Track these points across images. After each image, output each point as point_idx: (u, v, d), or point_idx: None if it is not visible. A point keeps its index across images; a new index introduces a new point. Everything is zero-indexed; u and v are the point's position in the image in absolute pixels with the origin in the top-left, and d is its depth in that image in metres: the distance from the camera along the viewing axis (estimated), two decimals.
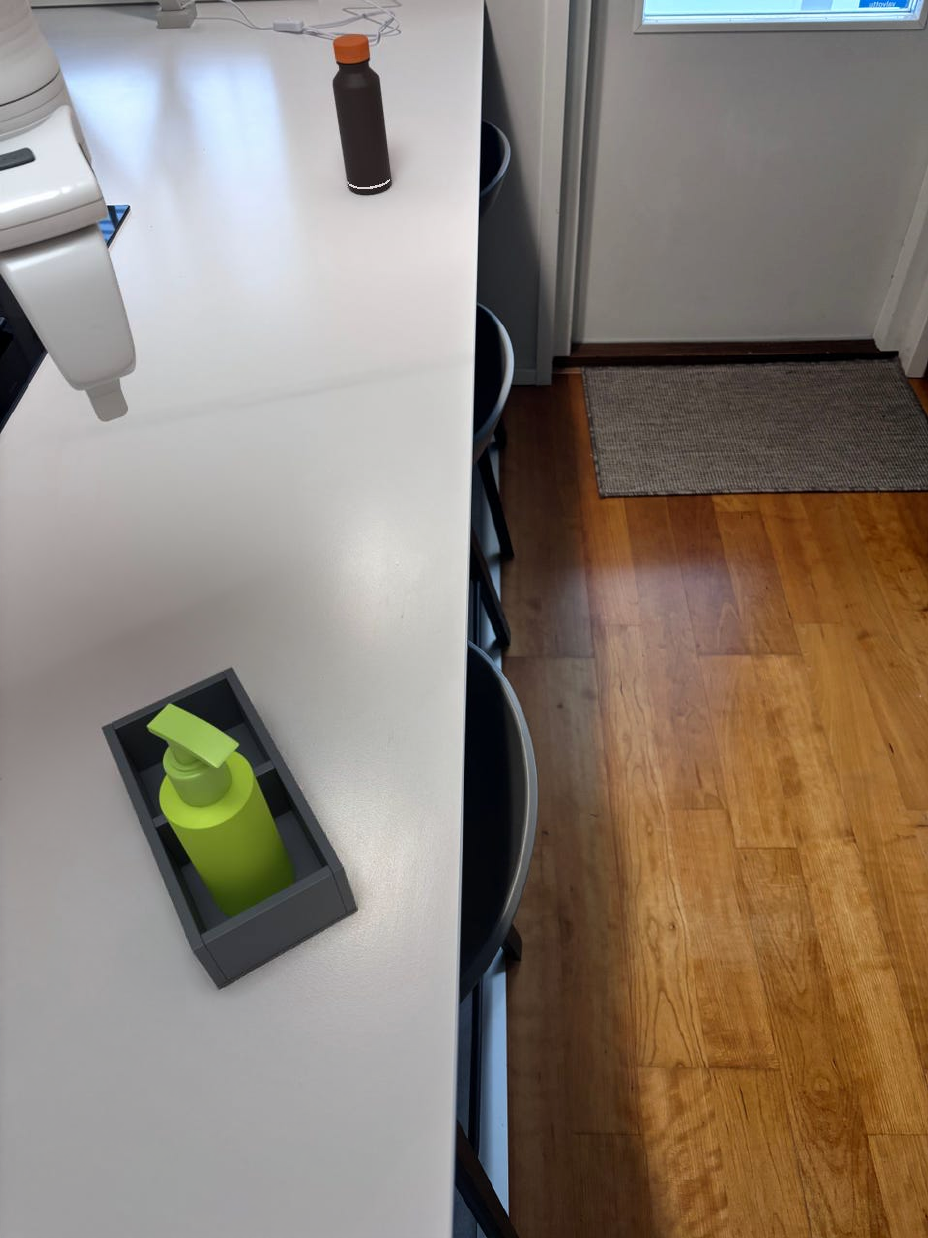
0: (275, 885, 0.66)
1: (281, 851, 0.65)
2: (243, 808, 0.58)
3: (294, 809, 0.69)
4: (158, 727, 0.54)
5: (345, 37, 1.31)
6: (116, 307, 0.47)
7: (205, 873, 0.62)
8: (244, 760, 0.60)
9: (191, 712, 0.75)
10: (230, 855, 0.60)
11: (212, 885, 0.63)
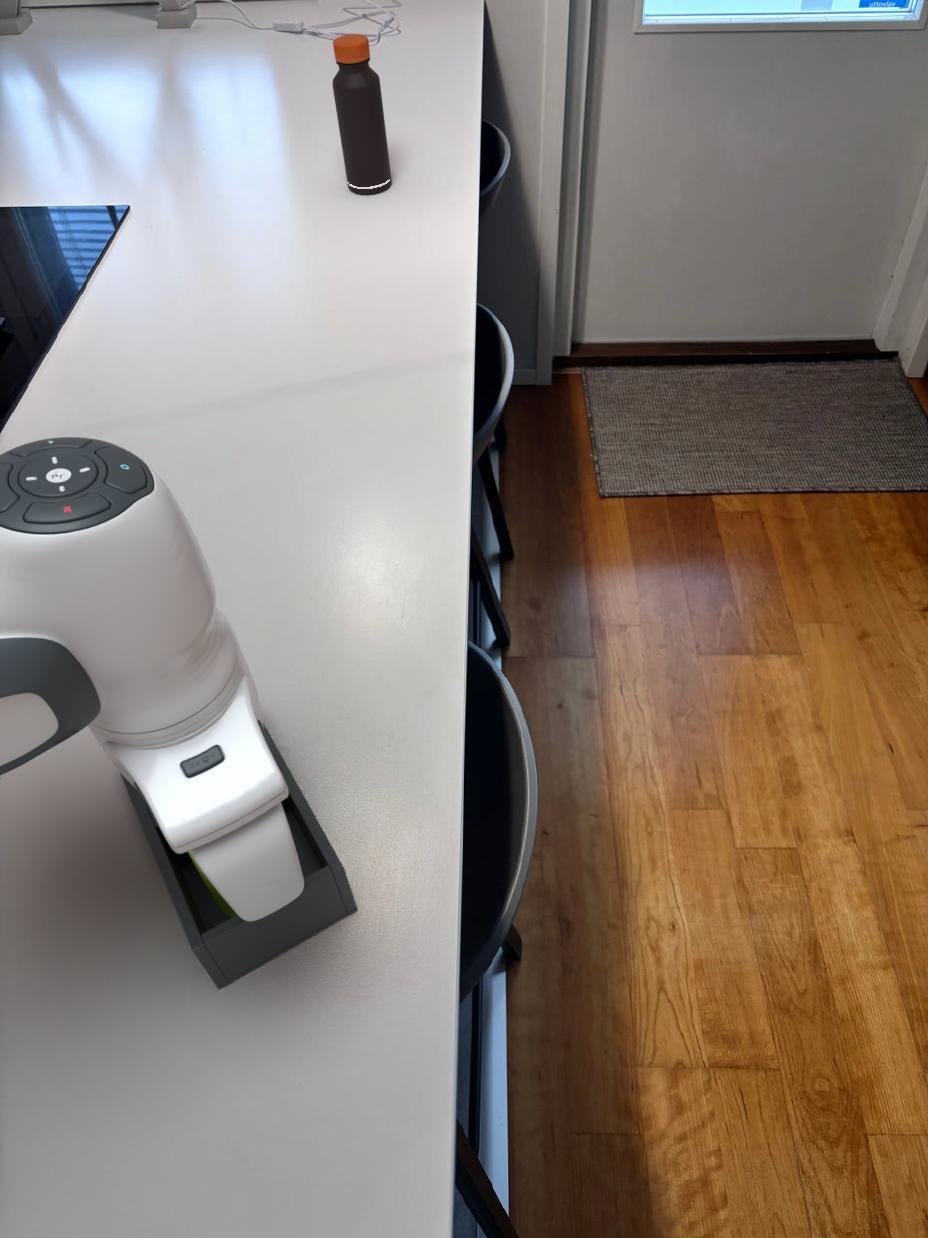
0: None
1: None
2: None
3: (294, 809, 0.69)
4: None
5: (345, 37, 1.31)
6: (292, 863, 0.51)
7: None
8: None
9: None
10: None
11: None
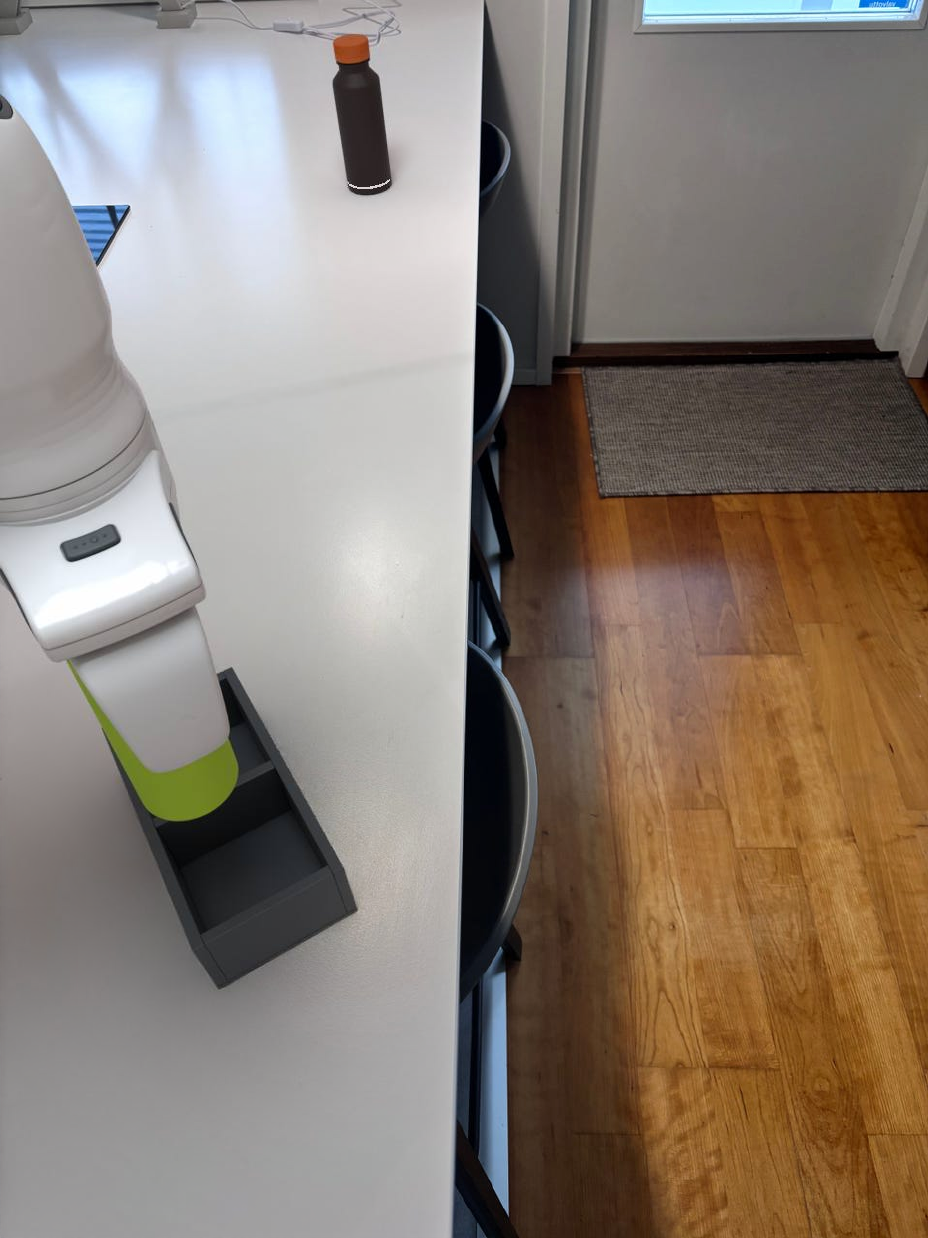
0: (212, 775, 0.54)
1: None
2: None
3: (294, 809, 0.69)
4: None
5: (345, 37, 1.31)
6: (211, 694, 0.39)
7: (122, 749, 0.50)
8: None
9: None
10: None
11: (132, 768, 0.51)
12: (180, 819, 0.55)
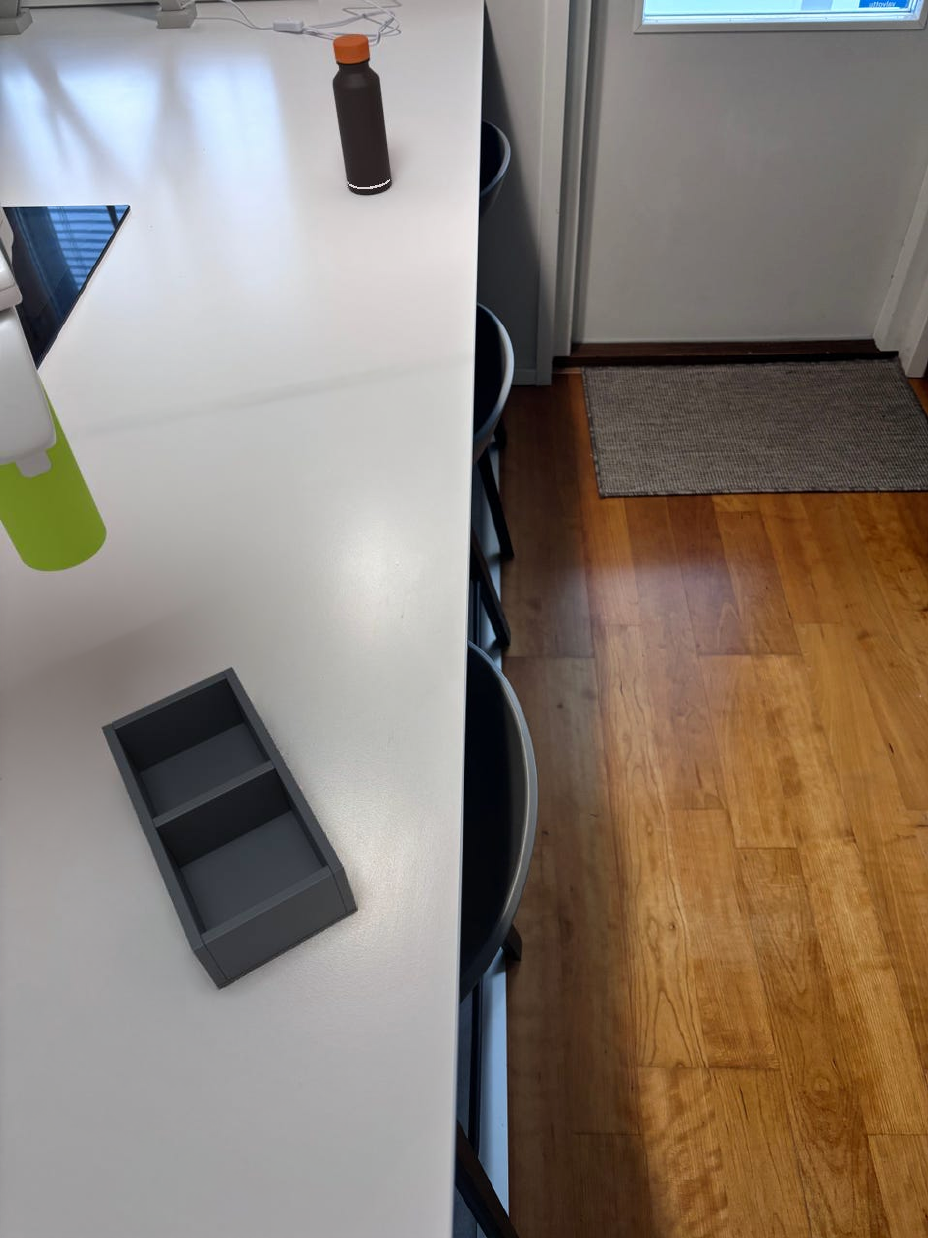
0: (76, 526, 0.63)
1: (83, 490, 0.63)
2: None
3: (294, 809, 0.69)
4: None
5: (345, 37, 1.31)
6: (32, 387, 0.48)
7: None
8: None
9: (191, 712, 0.75)
10: None
11: (3, 512, 0.61)
12: (52, 569, 0.64)
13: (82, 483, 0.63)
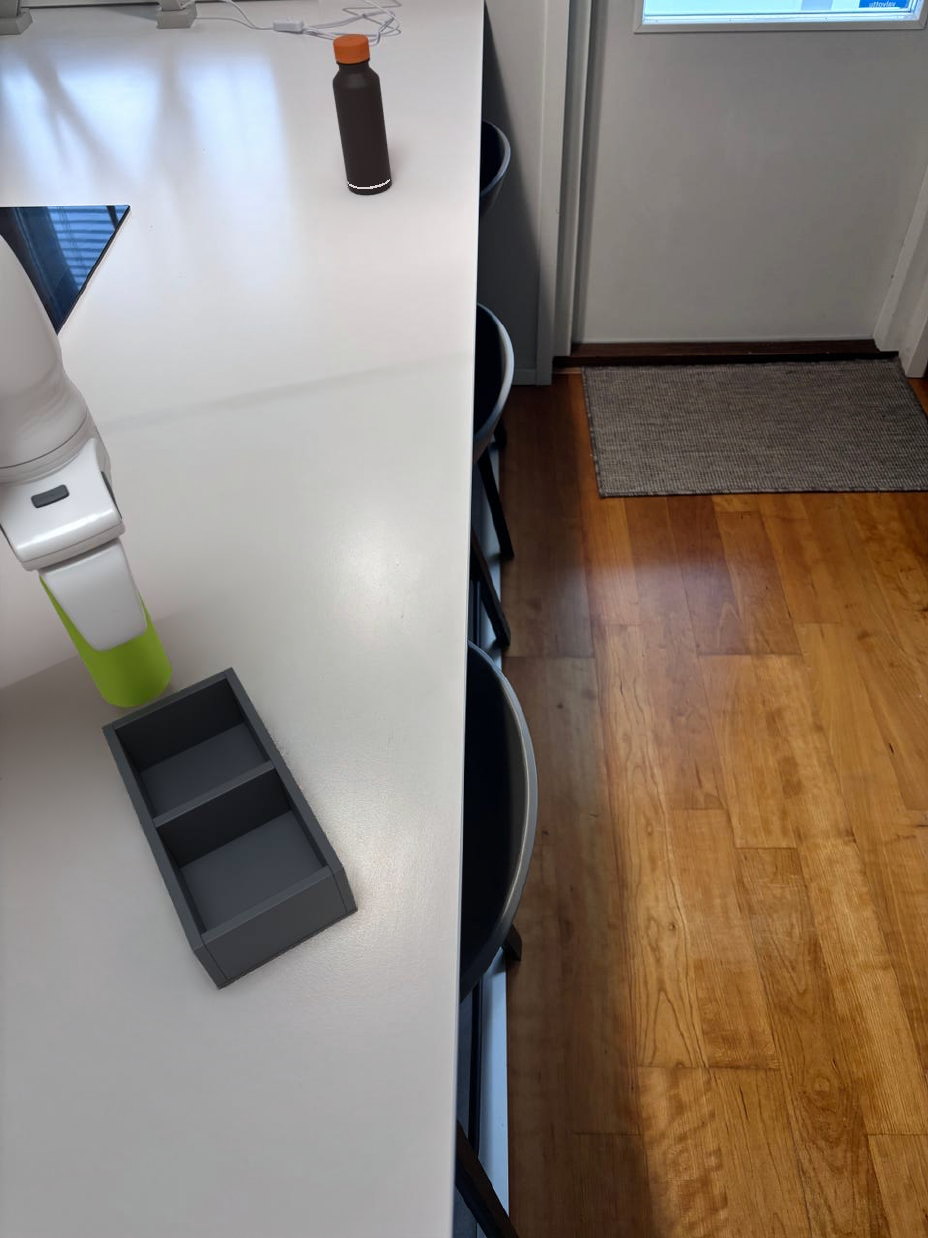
0: (149, 672, 0.75)
1: (155, 641, 0.75)
2: None
3: (294, 809, 0.69)
4: None
5: (345, 37, 1.31)
6: (131, 595, 0.60)
7: (83, 649, 0.71)
8: None
9: (191, 712, 0.75)
10: None
11: (91, 664, 0.73)
12: (128, 705, 0.76)
13: (154, 635, 0.75)
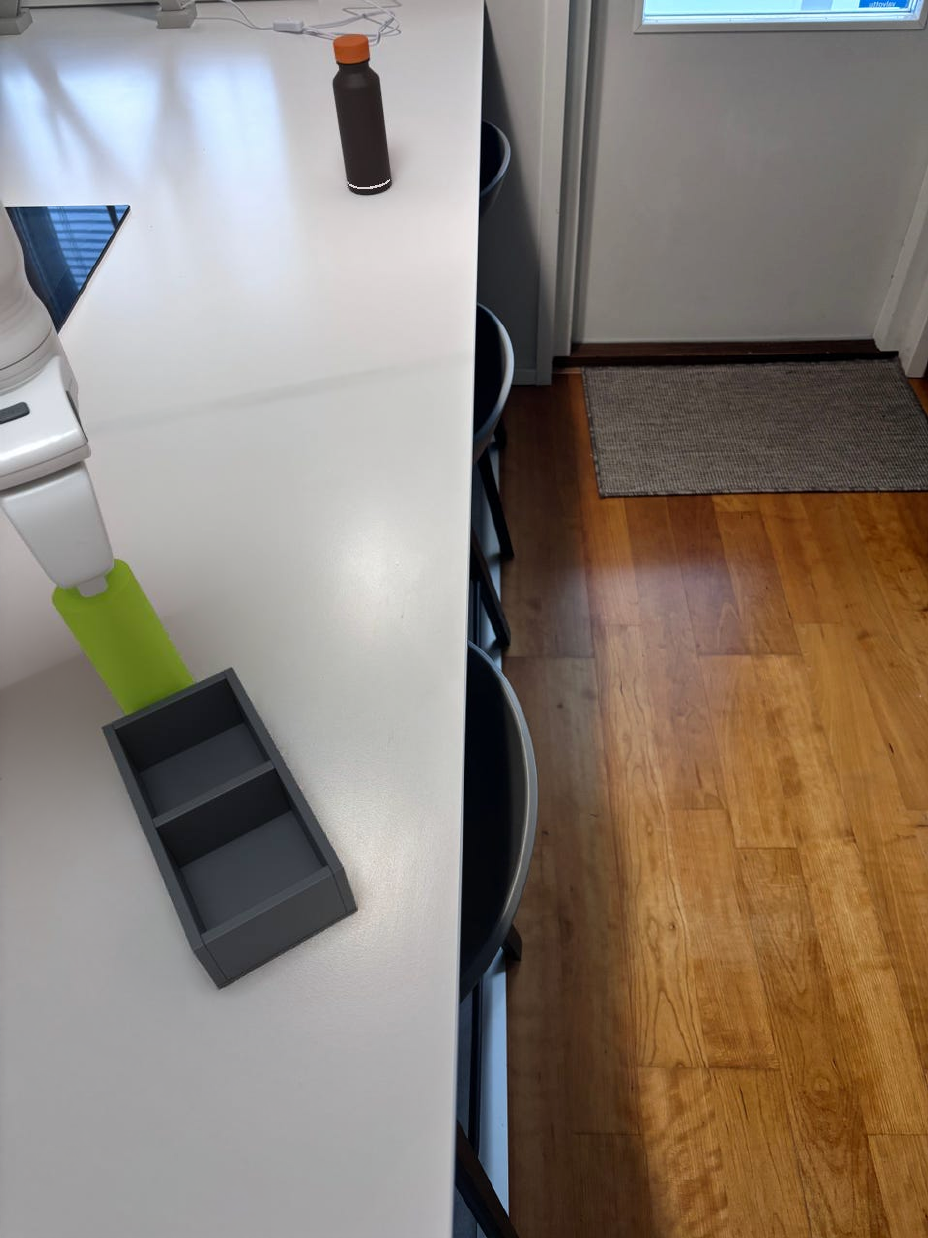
0: (172, 691, 0.74)
1: (176, 660, 0.74)
2: (118, 594, 0.68)
3: (294, 809, 0.69)
4: None
5: (345, 37, 1.31)
6: (97, 526, 0.56)
7: (103, 671, 0.71)
8: (124, 563, 0.70)
9: (191, 712, 0.75)
10: (116, 644, 0.69)
11: (113, 687, 0.73)
12: None
13: (175, 654, 0.74)
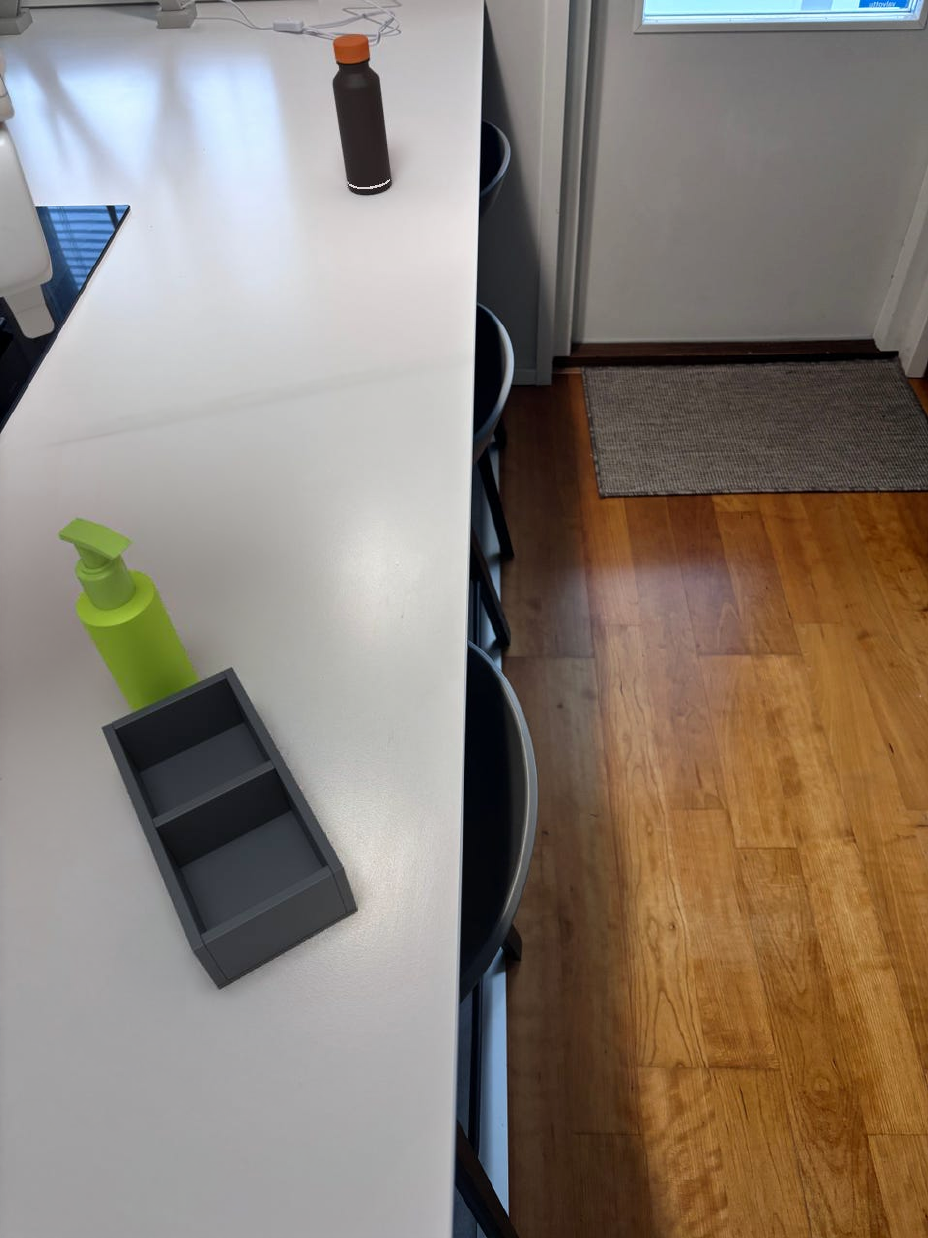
0: None
1: (188, 666, 0.78)
2: (145, 610, 0.70)
3: (294, 809, 0.69)
4: (66, 533, 0.66)
5: (345, 37, 1.31)
6: (26, 209, 0.47)
7: (121, 678, 0.74)
8: (147, 577, 0.72)
9: (191, 712, 0.75)
10: (139, 655, 0.72)
11: (129, 692, 0.75)
12: None
13: (187, 660, 0.78)
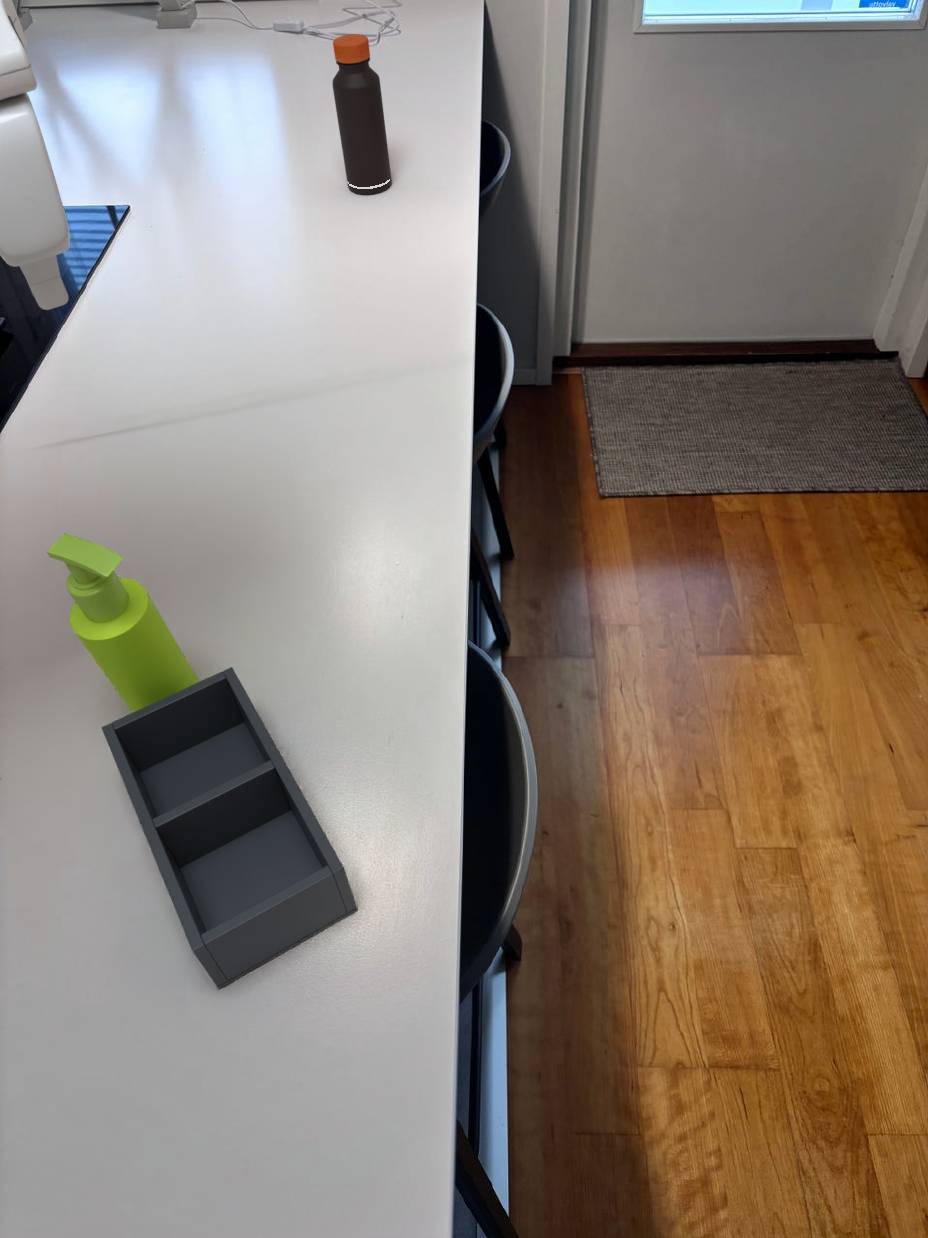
0: None
1: (186, 667, 0.77)
2: (140, 620, 0.70)
3: (294, 809, 0.69)
4: (56, 551, 0.65)
5: (345, 37, 1.31)
6: (46, 179, 0.48)
7: (120, 686, 0.74)
8: (139, 584, 0.71)
9: (191, 712, 0.75)
10: (137, 664, 0.72)
11: (128, 698, 0.75)
12: None
13: (184, 662, 0.77)
